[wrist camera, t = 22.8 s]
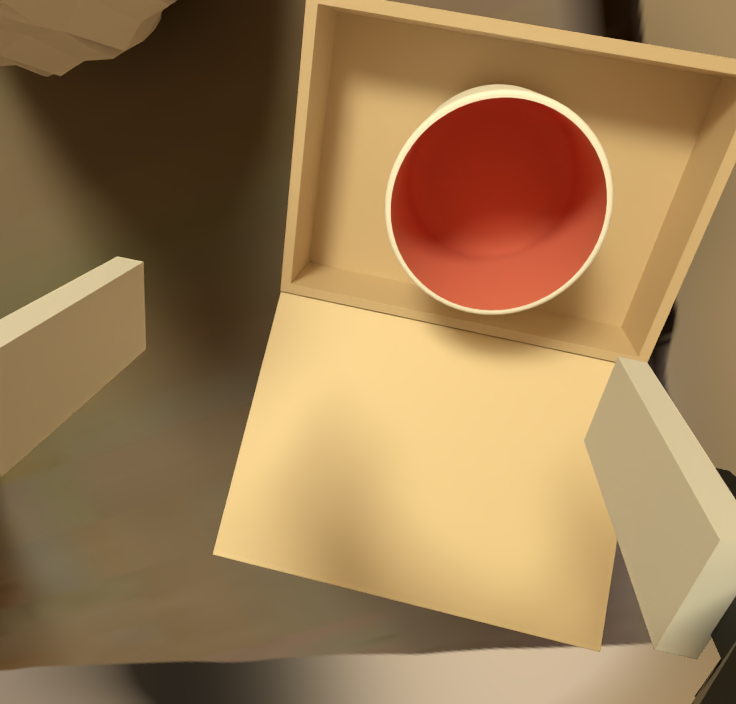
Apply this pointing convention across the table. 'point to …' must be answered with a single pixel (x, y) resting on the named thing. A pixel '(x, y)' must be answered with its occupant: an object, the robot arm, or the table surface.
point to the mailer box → (539, 74)
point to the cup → (498, 200)
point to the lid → (426, 470)
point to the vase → (72, 31)
